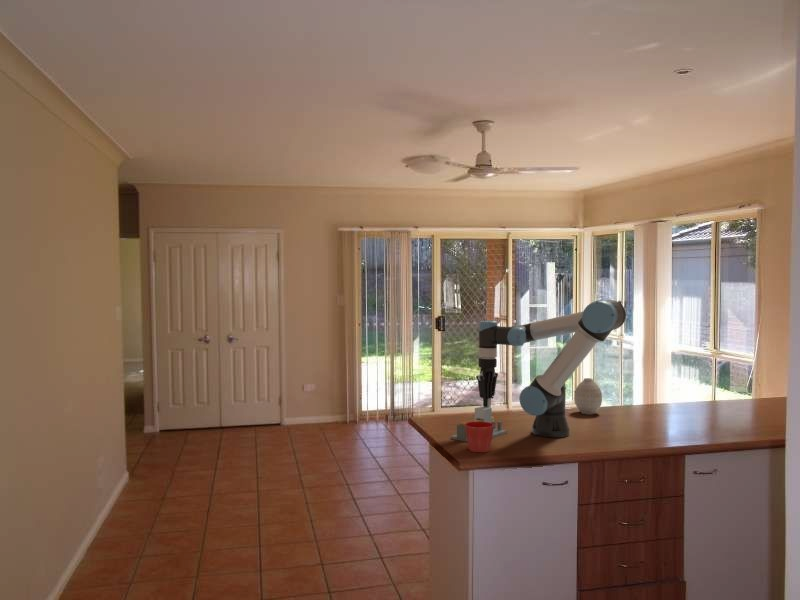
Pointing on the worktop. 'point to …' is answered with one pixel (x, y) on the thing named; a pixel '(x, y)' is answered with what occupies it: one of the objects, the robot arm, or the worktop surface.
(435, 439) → the worktop surface
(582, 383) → the vase
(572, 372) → the robot arm
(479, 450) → the flower pot
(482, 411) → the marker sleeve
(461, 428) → the cable comb
